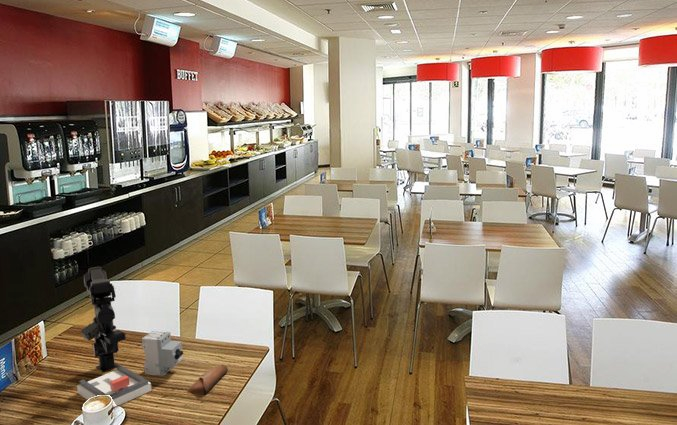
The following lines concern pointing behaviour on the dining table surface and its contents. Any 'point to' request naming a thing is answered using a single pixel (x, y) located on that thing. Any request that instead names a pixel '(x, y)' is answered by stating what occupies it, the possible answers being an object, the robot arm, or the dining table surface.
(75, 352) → the dining table surface
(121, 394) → the grey frame
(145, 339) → the circuit breaker
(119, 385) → the lever
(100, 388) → the switch panel
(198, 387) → the sunglasses case
